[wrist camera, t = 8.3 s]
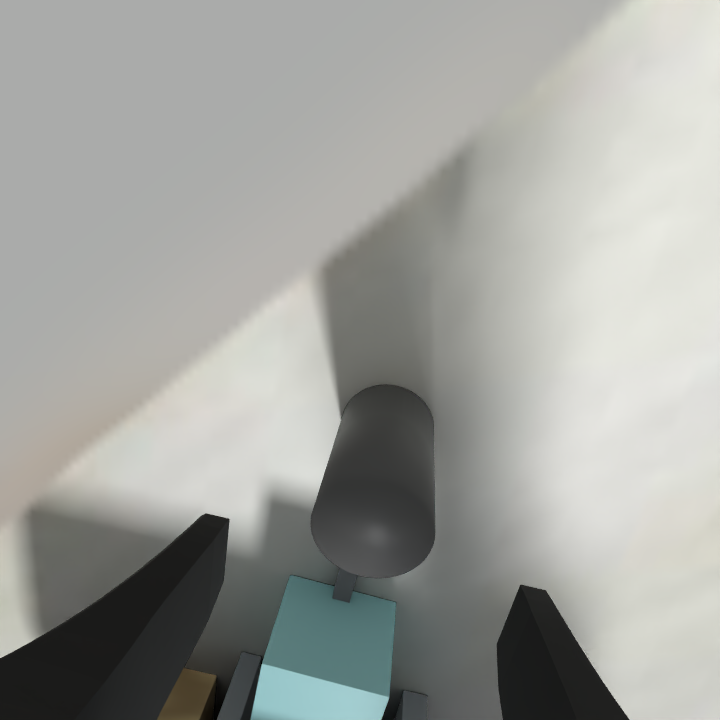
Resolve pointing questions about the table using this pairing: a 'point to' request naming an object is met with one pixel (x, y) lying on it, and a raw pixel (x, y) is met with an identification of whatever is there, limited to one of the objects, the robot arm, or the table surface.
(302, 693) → the block
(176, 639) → the robot arm
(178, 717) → the ochre block
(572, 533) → the table surface
